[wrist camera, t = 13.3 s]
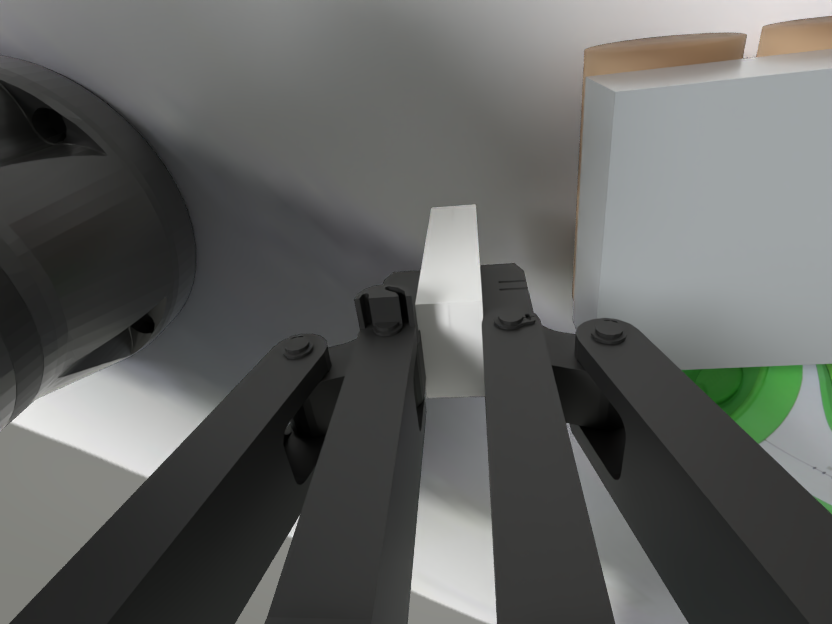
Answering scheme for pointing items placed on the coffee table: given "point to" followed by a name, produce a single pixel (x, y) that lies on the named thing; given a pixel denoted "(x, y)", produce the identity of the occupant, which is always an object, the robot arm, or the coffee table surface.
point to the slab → (711, 209)
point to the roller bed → (698, 56)
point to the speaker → (781, 415)
